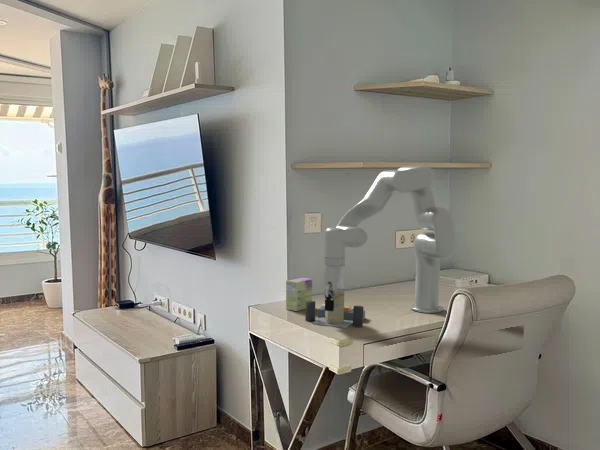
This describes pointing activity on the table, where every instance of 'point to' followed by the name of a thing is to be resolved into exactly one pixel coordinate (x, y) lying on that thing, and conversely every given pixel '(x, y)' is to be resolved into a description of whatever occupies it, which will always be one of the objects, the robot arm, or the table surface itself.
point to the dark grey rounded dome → (310, 311)
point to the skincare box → (336, 309)
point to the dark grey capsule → (358, 316)
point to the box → (298, 293)
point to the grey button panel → (347, 322)
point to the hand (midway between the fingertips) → (333, 307)
